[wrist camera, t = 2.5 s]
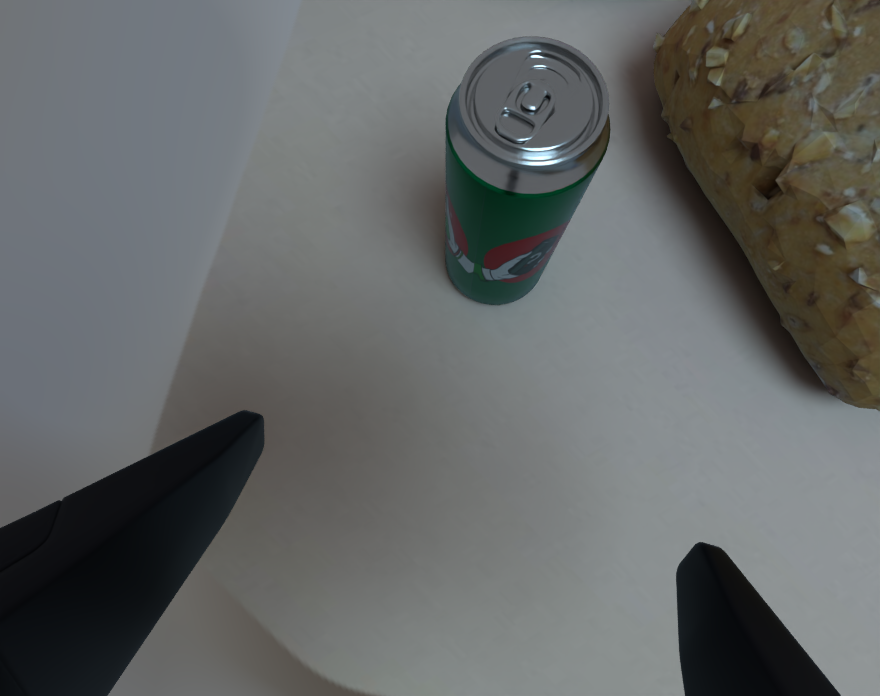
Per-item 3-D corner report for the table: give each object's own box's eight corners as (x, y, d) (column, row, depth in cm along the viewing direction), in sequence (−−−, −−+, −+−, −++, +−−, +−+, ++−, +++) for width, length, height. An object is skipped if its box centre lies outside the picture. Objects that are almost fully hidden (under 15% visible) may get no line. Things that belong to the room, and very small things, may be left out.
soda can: (558, 247, 26) (654, 72, 14) (510, 326, 25) (570, 209, 13) (476, 202, 26) (502, -2, 15) (427, 277, 25) (411, 123, 14)
